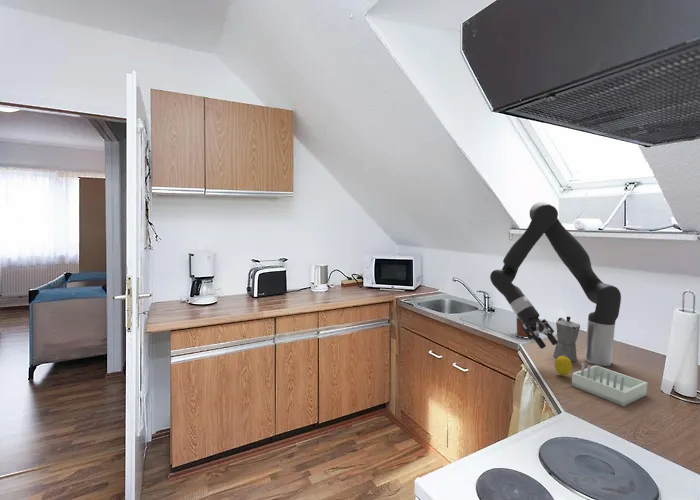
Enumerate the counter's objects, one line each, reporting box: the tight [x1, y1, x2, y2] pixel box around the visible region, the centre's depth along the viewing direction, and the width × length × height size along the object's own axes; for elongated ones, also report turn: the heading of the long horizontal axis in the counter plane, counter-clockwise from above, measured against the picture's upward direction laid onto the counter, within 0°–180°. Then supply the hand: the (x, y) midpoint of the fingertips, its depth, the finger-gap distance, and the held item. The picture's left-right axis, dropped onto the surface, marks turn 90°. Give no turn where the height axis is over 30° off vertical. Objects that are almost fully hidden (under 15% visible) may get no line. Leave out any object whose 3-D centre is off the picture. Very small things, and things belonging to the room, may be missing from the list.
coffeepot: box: [553, 316, 581, 362], centre depth 153 cm, size 15×9×18 cm, turn 171°
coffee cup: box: [514, 314, 531, 338], centre depth 180 cm, size 9×9×12 cm
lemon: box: [554, 355, 573, 377], centre depth 134 cm, size 6×6×8 cm
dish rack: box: [571, 363, 648, 407], centre depth 123 cm, size 16×16×8 cm
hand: (549, 345), depth 138 cm, fingers open, 8 cm apart
